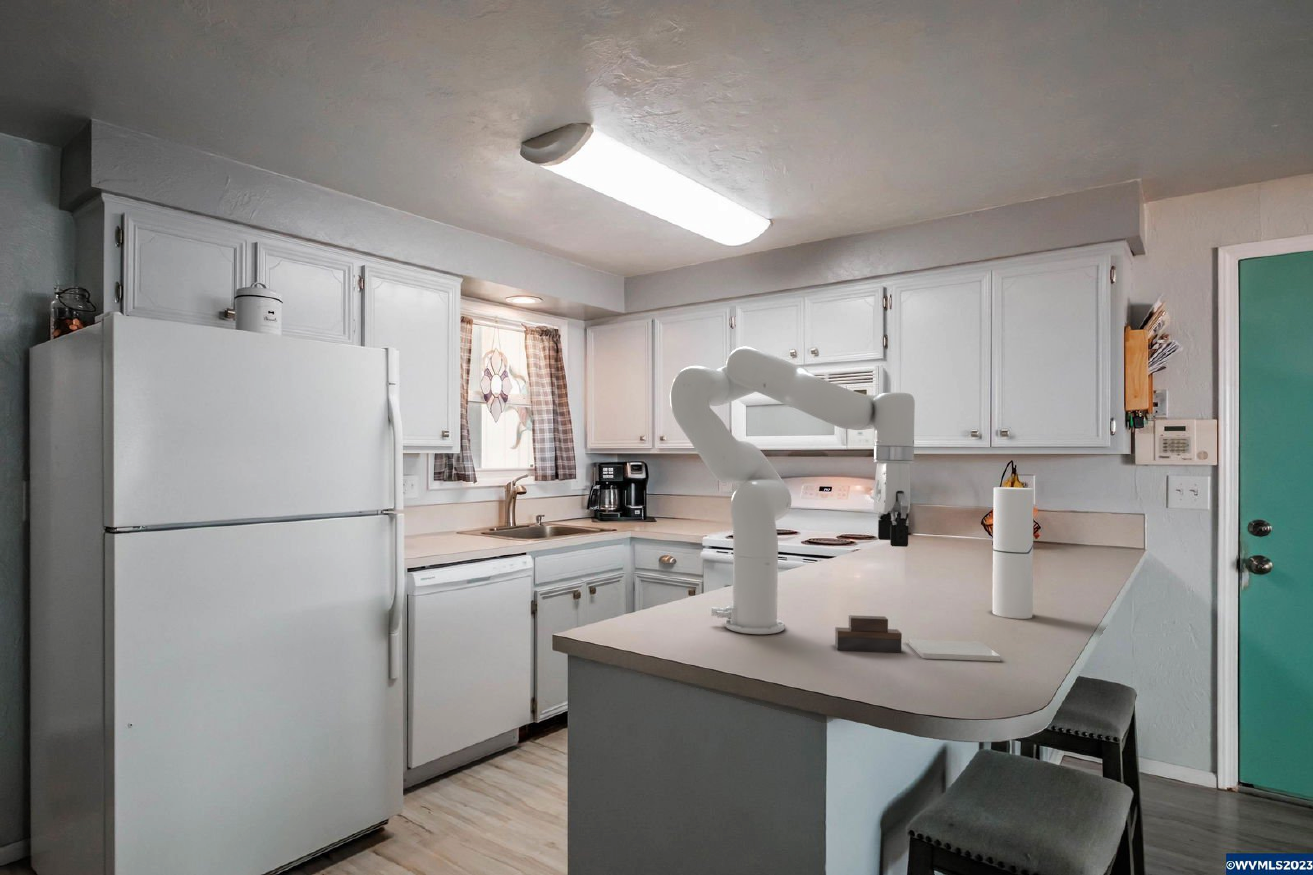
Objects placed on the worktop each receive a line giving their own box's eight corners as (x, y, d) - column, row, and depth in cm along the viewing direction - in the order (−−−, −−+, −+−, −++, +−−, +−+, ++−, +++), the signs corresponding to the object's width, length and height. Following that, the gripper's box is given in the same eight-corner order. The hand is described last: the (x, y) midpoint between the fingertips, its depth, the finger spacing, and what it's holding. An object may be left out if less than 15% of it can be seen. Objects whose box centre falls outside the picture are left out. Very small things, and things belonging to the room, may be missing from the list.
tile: (922, 658, 137) (922, 653, 137) (908, 644, 147) (908, 639, 147) (1000, 661, 136) (1000, 656, 136) (981, 646, 146) (981, 641, 146)
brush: (837, 650, 142) (838, 617, 142) (835, 646, 145) (835, 614, 145) (901, 652, 141) (901, 620, 141) (897, 648, 144) (897, 616, 144)
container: (1023, 611, 180) (1024, 487, 180) (1038, 619, 171) (1039, 489, 172) (987, 609, 181) (988, 486, 181) (1000, 618, 172) (1001, 488, 172)
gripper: (864, 454, 154) (863, 537, 154) (885, 456, 137) (883, 548, 137) (901, 455, 154) (900, 538, 154) (926, 456, 136) (925, 549, 136)
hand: (892, 542), depth 145 cm, fingers open, 9 cm apart
